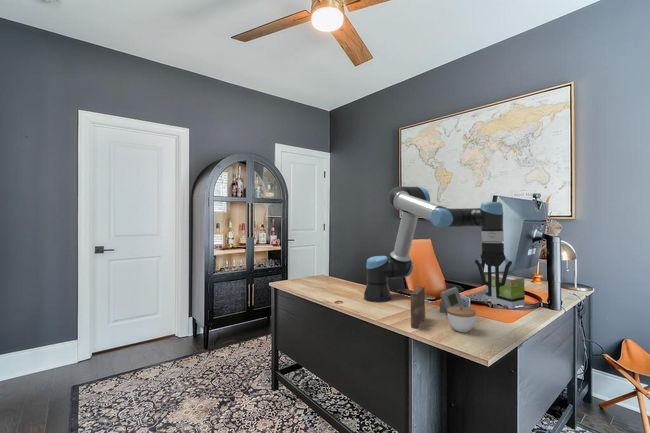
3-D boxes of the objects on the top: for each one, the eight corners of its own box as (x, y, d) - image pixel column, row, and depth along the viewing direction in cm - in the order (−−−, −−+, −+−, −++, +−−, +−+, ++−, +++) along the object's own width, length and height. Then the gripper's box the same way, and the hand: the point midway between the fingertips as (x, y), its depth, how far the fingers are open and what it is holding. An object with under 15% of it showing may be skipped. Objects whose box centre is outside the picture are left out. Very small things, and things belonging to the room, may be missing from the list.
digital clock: (449, 317, 140) (448, 294, 141) (432, 312, 148) (432, 290, 148) (470, 311, 149) (470, 289, 149) (453, 306, 157) (453, 285, 157)
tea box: (484, 302, 164) (484, 274, 164) (498, 299, 168) (497, 272, 168) (511, 309, 151) (511, 279, 151) (525, 307, 154) (525, 277, 155)
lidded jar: (481, 330, 124) (481, 307, 124) (465, 336, 118) (465, 311, 118) (457, 323, 133) (457, 301, 133) (441, 328, 127) (441, 305, 127)
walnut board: (411, 327, 128) (410, 293, 128) (419, 317, 141) (418, 286, 141) (417, 328, 127) (416, 294, 127) (425, 317, 140) (424, 286, 140)
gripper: (473, 242, 120) (474, 303, 119) (512, 243, 113) (514, 308, 113) (474, 241, 126) (476, 299, 126) (511, 241, 120) (513, 303, 119)
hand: (494, 303), depth 119 cm, fingers closed
